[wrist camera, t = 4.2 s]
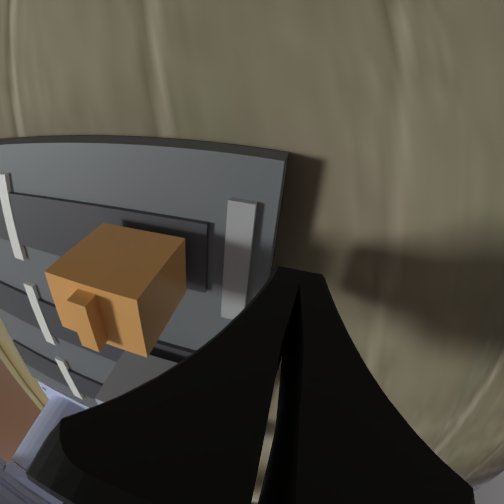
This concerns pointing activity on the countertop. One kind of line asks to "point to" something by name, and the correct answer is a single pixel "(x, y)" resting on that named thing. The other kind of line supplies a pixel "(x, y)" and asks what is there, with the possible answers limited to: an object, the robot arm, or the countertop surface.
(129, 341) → the orange slider knob
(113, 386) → the cube with peg
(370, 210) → the countertop surface
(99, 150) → the control board
